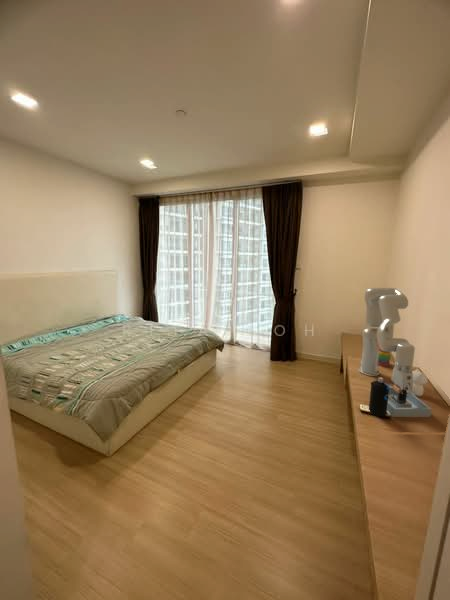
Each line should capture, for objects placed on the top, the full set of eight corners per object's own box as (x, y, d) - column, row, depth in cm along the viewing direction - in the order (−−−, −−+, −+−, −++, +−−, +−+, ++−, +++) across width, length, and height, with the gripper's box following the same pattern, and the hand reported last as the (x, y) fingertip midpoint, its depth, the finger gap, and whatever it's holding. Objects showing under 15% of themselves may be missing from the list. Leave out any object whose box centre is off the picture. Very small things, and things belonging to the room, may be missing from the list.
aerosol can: (368, 415, 121) (372, 380, 117) (367, 406, 129) (370, 372, 125) (388, 420, 118) (392, 384, 114) (385, 410, 125) (389, 375, 121)
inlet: (386, 399, 132) (386, 395, 132) (400, 399, 132) (401, 395, 131) (395, 409, 124) (396, 404, 124) (411, 409, 124) (412, 404, 123)
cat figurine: (426, 400, 132) (431, 375, 129) (399, 394, 138) (403, 371, 135) (422, 391, 140) (426, 368, 137) (396, 386, 146) (400, 364, 143)
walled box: (370, 394, 139) (371, 386, 138) (402, 394, 138) (403, 386, 137) (393, 418, 119) (394, 408, 118) (430, 418, 118) (431, 409, 117)
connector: (400, 399, 130) (400, 385, 128) (405, 404, 126) (405, 389, 124) (392, 400, 130) (393, 385, 128) (397, 404, 126) (398, 389, 124)
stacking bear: (386, 361, 179) (389, 338, 175) (393, 367, 169) (396, 344, 166) (371, 360, 181) (373, 338, 178) (376, 366, 171) (379, 343, 168)
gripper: (422, 374, 115) (418, 407, 119) (399, 359, 132) (396, 388, 135) (407, 374, 116) (402, 407, 119) (385, 359, 132) (382, 388, 136)
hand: (399, 397), depth 127 cm, fingers closed on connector, 4 cm apart
